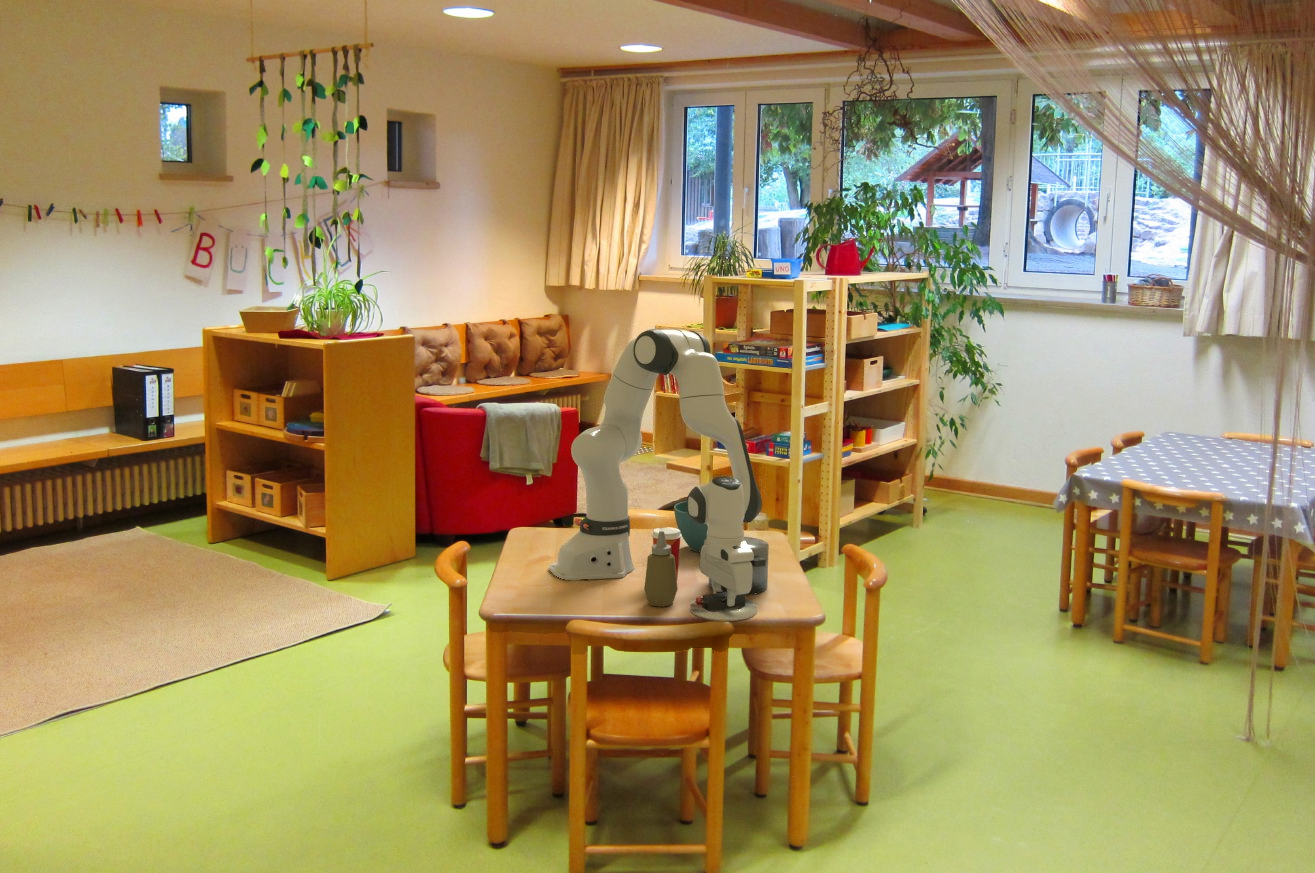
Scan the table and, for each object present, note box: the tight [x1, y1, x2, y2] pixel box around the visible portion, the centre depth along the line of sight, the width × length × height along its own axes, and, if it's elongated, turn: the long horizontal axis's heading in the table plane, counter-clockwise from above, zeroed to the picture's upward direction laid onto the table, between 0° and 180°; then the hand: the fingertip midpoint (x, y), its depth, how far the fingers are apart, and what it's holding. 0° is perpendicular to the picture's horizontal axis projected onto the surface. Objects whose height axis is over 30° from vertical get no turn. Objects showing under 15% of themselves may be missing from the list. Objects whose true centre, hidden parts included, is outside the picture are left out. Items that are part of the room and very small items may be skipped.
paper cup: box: [651, 526, 683, 579], centre depth 296 cm, size 8×8×14 cm
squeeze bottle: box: [643, 531, 679, 607], centre depth 280 cm, size 8×8×18 cm
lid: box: [689, 592, 758, 622], centre depth 277 cm, size 16×16×4 cm
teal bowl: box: [673, 500, 708, 553], centre depth 328 cm, size 18×18×12 cm
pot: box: [708, 536, 770, 596], centre depth 295 cm, size 15×22×11 cm
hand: (723, 601), depth 277 cm, fingers open, 5 cm apart
